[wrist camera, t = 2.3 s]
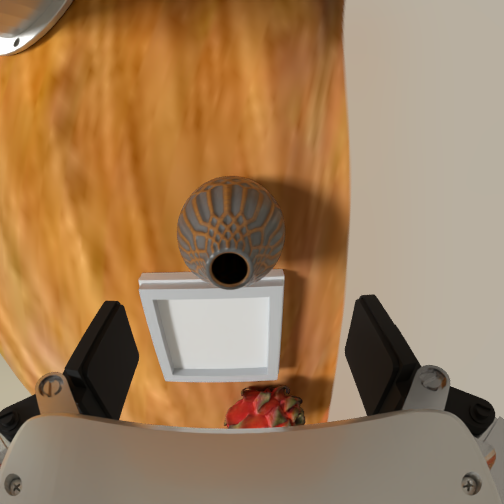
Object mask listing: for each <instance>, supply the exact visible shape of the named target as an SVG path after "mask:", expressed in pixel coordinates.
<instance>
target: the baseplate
mask: <svg viewBox="0 0 504 504" xmlns="http://www.w3.org/2000/svg"><path fill="white" fill-rule="evenodd" d="M284 277H285V276H284V273H283V269H272V270H271V271H270V272H269V273H268V274H267V275H266V276H265V277H264V278H262V279H261V280H259V281H258V282H256V283H254V284H252V285H249V286H246V287H242V288H239V289H235V290H225V289H221V288H219V287H216V286H213V285H210V284H208V283H206V282H204V281H203V280H201V279H200V278H198V277H197V276H196V275H195V274H194V273H193V272H171V273H142V275H141V276H140V278H139V285H140V288H139V293H140V297H141V301H142V305H143V309H144V313H145V316H146V320H147V323H148V327H149V331H150V334H151V337H152V341H153V344H154V347H155V351H156V354H157V357H158V360H159V363H160V366H161V369H162V372H163V375H164V378H165V381H177V382H245V381H266V380H277V377H278V374H279V361H280V347H281V331H282V315H283V297H284Z"/></svg>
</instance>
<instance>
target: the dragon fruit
mask: <svg viewBox="0 0 504 504" xmlns="http://www.w3.org/2000/svg"><path fill="white" fill-rule="evenodd" d="M245 389H248V388H245ZM245 389H243V390H242V391H241V395H242V396H243V399H242V400H240V401H238V402H237V403H236V404H235V405H233V406H232V407H231V408H230V409H229V410H228V412H227V414H226V418H225V423H224V425H225V426H227V427H228V429H251V428H273V427H288V426H300V425H304V424H305V417H304V411H303V409H302V408H300V407H299V406H300V404H301V403H302V399H301V398H300V397H296V396H293V395H290V396H285V395H284V390H285V389H286V394H287V393H288V394H289V393H290V389H289V387H287V386H279V387H277V388H273V387H269V388H267V389H266V390H265V391H264V392H260V391H256V390H254V389H252V390H245ZM244 390H245V391H244Z"/></svg>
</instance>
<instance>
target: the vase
mask: <svg viewBox="0 0 504 504" xmlns="http://www.w3.org/2000/svg"><path fill="white" fill-rule="evenodd" d="M177 240H178V245H179V249H180V252H181V255H182V257H183V259H184V261H185V263H186V265H187V266H188V267H189V269H190V270H191V271H192V272H193V273H194V274H195V275H196V276H197V277H198V278H200V279H201V280H203V281H204V282H206V283H208V284H210V285H213V286H216V287H219V288H221V289H225V290H235V289H239V288H242V287H246V286H249V285H252V284H254V283H256V282H258V281H259V280H261V279H262V278H264V277H265V276H266V275H267V274H268V273H269V272H270V271H271V270H272V269H273V267H274V266H275V264H276V263H277V261H278V259H279V257H280V255H281V252H282V249H283V246H284V241H285V223H284V218H283V215H282V212H281V209H280V207H279V205H278V204H277V202H276V200H275V199H274V197H273V196H272V195H271V194H270V193H269V192H268V191H267V190H266V189H265V188H264V187H263V186H261V185H260V184H258V183H257V182H255V181H253V180H250V179H247V178H244V177H239V176H224V177H219V178H215V179H213V180H210V181H208V182H206V183H204V184H203V185H201V186H200V187H199V188H198V189H196V190H195V191H194V192H193V193H192V194H191V196H190V197H189V198H188V200H187V201H186V203H185V204H184V206H183V208H182V210H181V213H180V216H179V219H178V226H177Z"/></svg>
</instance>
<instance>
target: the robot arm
mask: <svg viewBox="0 0 504 504" xmlns="http://www.w3.org/2000/svg"><path fill="white" fill-rule="evenodd" d="M72 1H73V0H0V56H9V55H14V54H17V53H19V52H21V51H23V50H25V49H27V48H28V47H30V46H31V45H33V44H34V43H35V42H37V41H38V40H39V39H40V38H41V37H43V36H44V35H45V34H46V33H47V32H48V31H49V30H50V29H51V28H52V27H53V26H54V25H55V24H56V22H57V21H58V20H59V19H60V18H61V16H62V15H63V14H64V13H65V11H66V10H67V8H68V7H69V6H70V4H71V3H72ZM345 356H346V359H347V361H348V364H349V367H350V369H351V372H352V375H353V377H354V380H355V383H356V386H357V388H358V391H359V394H360V397H361V399H362V402H363V405H364V408H365V411H366V414H367V416H365V417H360V418H354V419H347V420H341V421H333V422H326V423H318V424H310V425H300V426H288V427H273V428H251V429H210V428H187V427H173V426H161V425H152V424H143V423H135V422H128V421H121V420H119V418H120V415H121V412H122V408H123V405H124V402H125V399H126V396H127V393H128V390H129V387H130V384H131V381H132V378H133V375H134V372H135V369H136V367H137V364H138V361H139V353H138V350H137V347H136V344H135V341H134V337H133V334H132V331H131V328H130V325H129V322H128V318H127V315H126V311H125V308H124V306H123V305H120V303H119V302H118V301H105V302H104V303H103V305H102V306H101V308H100V309H99V311H98V313H97V314H96V316H95V317H94V319H93V321H92V322H91V324H90V326H89V327H88V329H87V330H86V332H85V334H84V335H83V337H82V339H81V340H80V342H79V344H78V346H77V347H76V349H75V351H74V353H73V354H72V356H71V358H70V360H69V361H68V363H67V365H66V367H65V370H64V372H63V374H61V373H58V372H51V373H47V374H45V375H44V376H42V377H41V378H40V379H39V380H38V382H37V383H36V386H35V393H36V394H34V395H32V396H30V397H28V398H26V399H24V400H22V401H20V402H17V403H15V404H13V405H11V406H9V407H6V408H5V409H3V410H2V411H1V412H0V504H504V419H503V418H501V417H499V418H498V419H497V418H496V417H495V411H494V408H493V407H492V405H491V404H490V403H489V402H488V401H486V400H484V399H482V398H479V397H477V396H474V395H471V394H469V393H466V392H464V391H461V390H459V389H456V388H454V387H451V386H450V378H449V376H448V374H447V373H446V372H445V371H444V370H443V369H442V368H440V367H437V366H433V365H426V366H423V367H421V365H420V364H419V362H418V360H417V359H416V357H415V355H414V353H413V352H412V350H411V349H410V347H409V345H408V344H407V342H406V340H405V339H404V337H403V336H402V334H401V332H400V331H399V329H398V328H397V326H396V325H395V324H394V323H393V321H392V320H391V319H390V317H389V315H388V314H387V312H386V311H385V309H384V308H383V306H382V304H381V303H380V302H379V300H378V298H377V297H376V296H375V295H362V296H360V298H359V299H357V300H356V302H355V306H354V311H353V316H352V320H351V325H350V329H349V334H348V339H347V342H346V346H345Z"/></svg>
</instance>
